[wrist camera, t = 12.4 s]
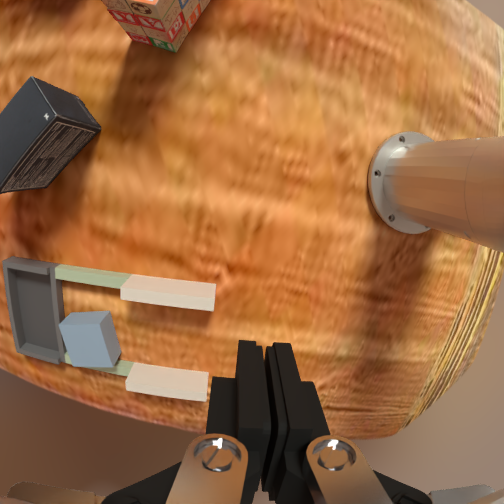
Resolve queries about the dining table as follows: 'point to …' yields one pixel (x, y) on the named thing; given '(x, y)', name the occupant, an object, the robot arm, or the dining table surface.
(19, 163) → the small box
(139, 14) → the stack of blocks
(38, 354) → the two-pronged grey tray
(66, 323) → the block
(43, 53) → the dining table surface
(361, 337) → the dining table surface
